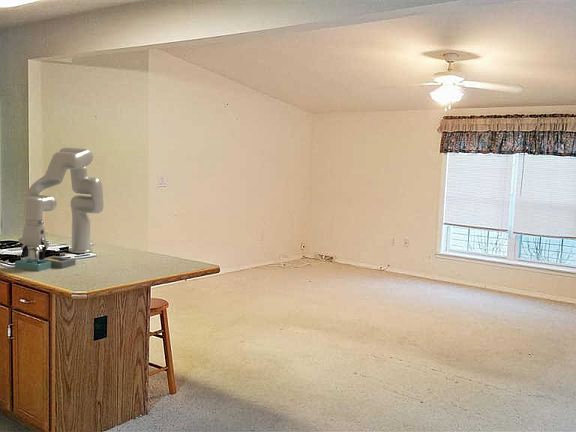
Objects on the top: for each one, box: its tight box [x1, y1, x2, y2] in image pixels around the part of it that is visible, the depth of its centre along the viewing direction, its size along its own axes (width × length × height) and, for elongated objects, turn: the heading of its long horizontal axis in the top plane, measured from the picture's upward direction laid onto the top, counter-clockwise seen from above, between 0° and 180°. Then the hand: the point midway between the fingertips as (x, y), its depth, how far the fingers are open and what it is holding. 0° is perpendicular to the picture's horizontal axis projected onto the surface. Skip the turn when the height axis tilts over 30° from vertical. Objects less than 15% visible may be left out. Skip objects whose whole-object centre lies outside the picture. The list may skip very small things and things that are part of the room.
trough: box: [14, 258, 52, 272], centre depth 266 cm, size 9×14×3 cm, turn 73°
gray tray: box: [42, 255, 77, 269], centre depth 275 cm, size 10×13×3 cm
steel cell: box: [29, 248, 38, 264], centre depth 265 cm, size 4×4×9 cm
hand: (33, 258), depth 266 cm, fingers open, 9 cm apart
